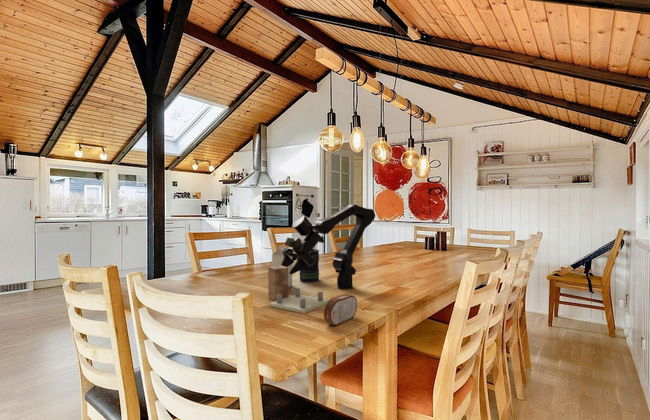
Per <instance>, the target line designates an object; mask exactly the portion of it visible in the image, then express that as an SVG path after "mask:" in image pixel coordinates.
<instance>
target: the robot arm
mask: <svg viewBox="0 0 650 420" xmlns="http://www.w3.org/2000/svg"><path fill="white" fill-rule="evenodd" d="M351 216H353V217H354V216H355V225H354V227H353V229H352V231H351V233H350V235H349V237H348V239H347V240H346V241H347V242H346V243H345V245H344V247H343V249H342V250H341V251H336V253H335V255H334V257H333V258H332V261H333V262H332V267H333V269H334V270H335V273H336V274H338V276H337V277H336V279H337V280H336V286H337V288H338V289H354V288H353V276H354V275H356V271H357V269H356V268H355V267H354V266H353V260H354V257H353V255H354V253H355V251H356V248H357V246H358V245H359V243H360V240H361V239H362V236H363V235H364V233H365V229H367V227H369V226H370V225H371V224H372V223H373V222H374V220H375V218H376V213H375V211H374V210H373V209H372V208H366V207H362V206H359V205H358V204H348V205H347V206H345V207H344V208H342V209H340V210H338V211H337V212H336V213H333V214H332V215H331V216H327V217H325V218H321V219H318V220H316V221H314V223H311V221H310V220H309V219H308V217H307V216H306V215H304V216H303V215H302V216H301V217H300V218H298V219H297V220H295V221H294V222H293V223H292V228H293V229H294V230H295V231H296V232H297V233H298V234H299V235H300V236H301V237H303V239H301V238H299V237H295V238H292V237H287V238H286V239H285V243H284V245H285V246H287V247H286V248H285V249H284V250H283V251H282V252H283V255H284V259H283V262H282V264H281V266H285V267H288V266H290V265H291V264H292V269H291V271H290V274H291V275H292V276H293V275H294V274H296V273H297V272H300V270H302V269H304V268H306V267H309V266H312V265H313V264H314V259H313V257H312V256H311V255H310V254H309V253H310V252H313V251H314V250H313V249H315V247H316V246H317V245H318V244H319V243H320V244H321V243H322V244H324V243H325V237H324V236H323V235H327V234H329V233H330V232H332V231H333V230H334V228H335V227H336V226H337V225H338V224H339V223H341V222H343V221H345V220H346V219H348V218H350V217H351ZM320 234H322V235H320ZM293 264H294V265H293Z"/></svg>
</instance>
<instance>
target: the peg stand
mask: <svg viewBox="0 0 650 420" xmlns="http://www.w3.org/2000/svg"><path fill="white" fill-rule="evenodd" d="M323 296H324V293H323V291H317V297H316V296H309V295H304V294H301V288H300V287H297V288H294V294H292V295H288V297H286V298H283V299H282V294H277V301H272V302H269V307H271V308H277V309H280V310H286V311H289V312H290V311H291V312H296V313H301V314H306V313H308V312H311V311H313V310H316V309H318V308H320V307H323V306H326V304H327V302H328V301H329V300H330V299H328V298H324V297H323Z"/></svg>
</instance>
